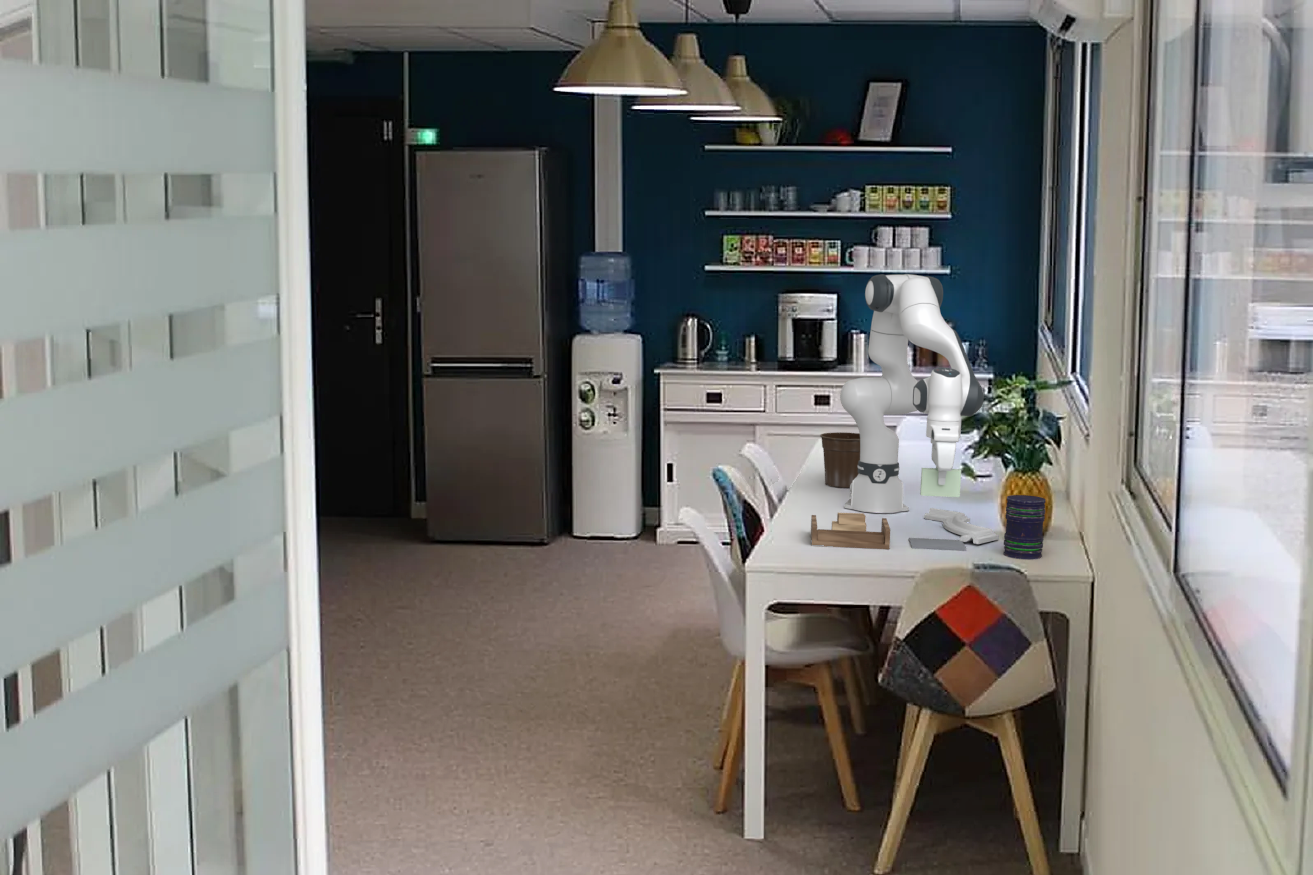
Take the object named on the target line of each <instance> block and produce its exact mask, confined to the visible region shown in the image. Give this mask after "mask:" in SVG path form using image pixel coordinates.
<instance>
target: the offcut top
mask: <svg viewBox="0 0 1313 875" xmlns="http://www.w3.org/2000/svg"><path fill="white" fill-rule="evenodd" d="M836 516H837V518H836V521H837V522H838V524H849V525H865V522H866V518H867V517H866V515H865V513H864V512H863V513H861V512H837V514H836Z"/></svg>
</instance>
